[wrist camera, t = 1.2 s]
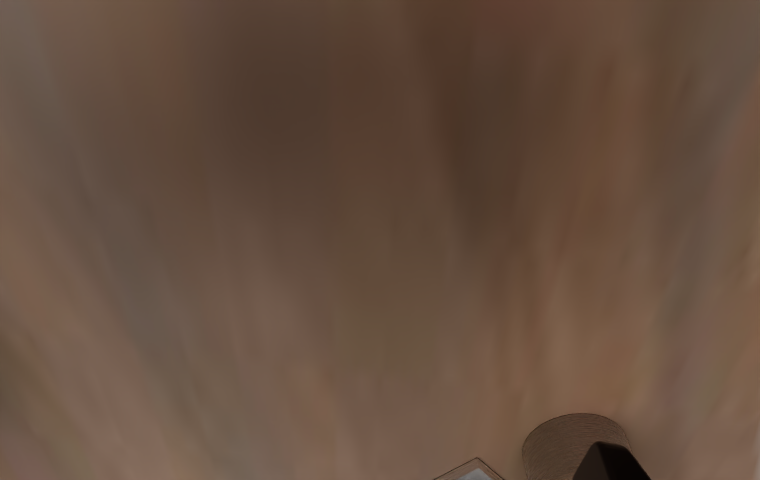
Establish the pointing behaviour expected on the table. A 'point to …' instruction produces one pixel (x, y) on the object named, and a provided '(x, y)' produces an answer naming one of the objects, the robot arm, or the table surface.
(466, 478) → the ring sleeve
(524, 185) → the table surface
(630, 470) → the robot arm
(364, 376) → the table surface
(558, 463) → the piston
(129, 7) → the table surface
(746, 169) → the table surface
